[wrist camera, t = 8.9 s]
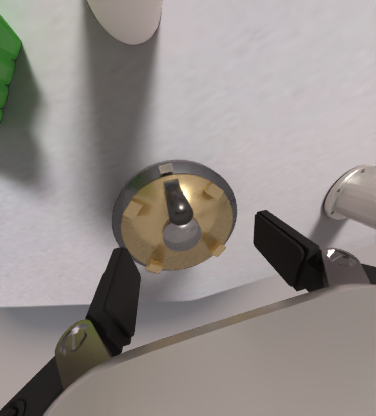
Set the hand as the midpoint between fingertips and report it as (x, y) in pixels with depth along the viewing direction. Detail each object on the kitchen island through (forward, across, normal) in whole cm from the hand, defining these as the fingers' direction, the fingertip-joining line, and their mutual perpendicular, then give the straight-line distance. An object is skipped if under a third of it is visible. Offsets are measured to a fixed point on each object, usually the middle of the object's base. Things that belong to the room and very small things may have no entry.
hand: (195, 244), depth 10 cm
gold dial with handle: (+13, +1, +7) cm, 14 cm away
